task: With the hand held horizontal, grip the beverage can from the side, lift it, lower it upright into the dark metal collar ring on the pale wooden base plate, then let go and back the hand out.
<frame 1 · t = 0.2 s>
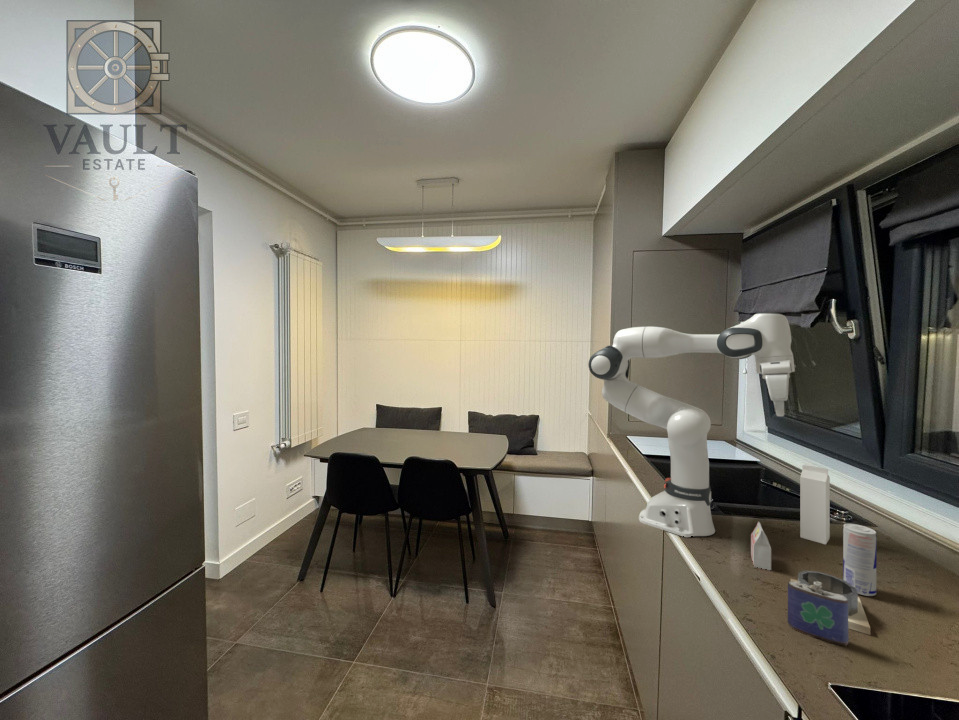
hand: (779, 414, 110), 39 cm above the counter, tool pointing down, fingers open, 8 cm apart
small drink carton: (760, 563, 103), on the counter
flask: (816, 635, 76), on the counter
collar stand: (826, 607, 84), on the counter
milk: (814, 538, 116), on the counter
beverage can: (859, 591, 90), on the counter
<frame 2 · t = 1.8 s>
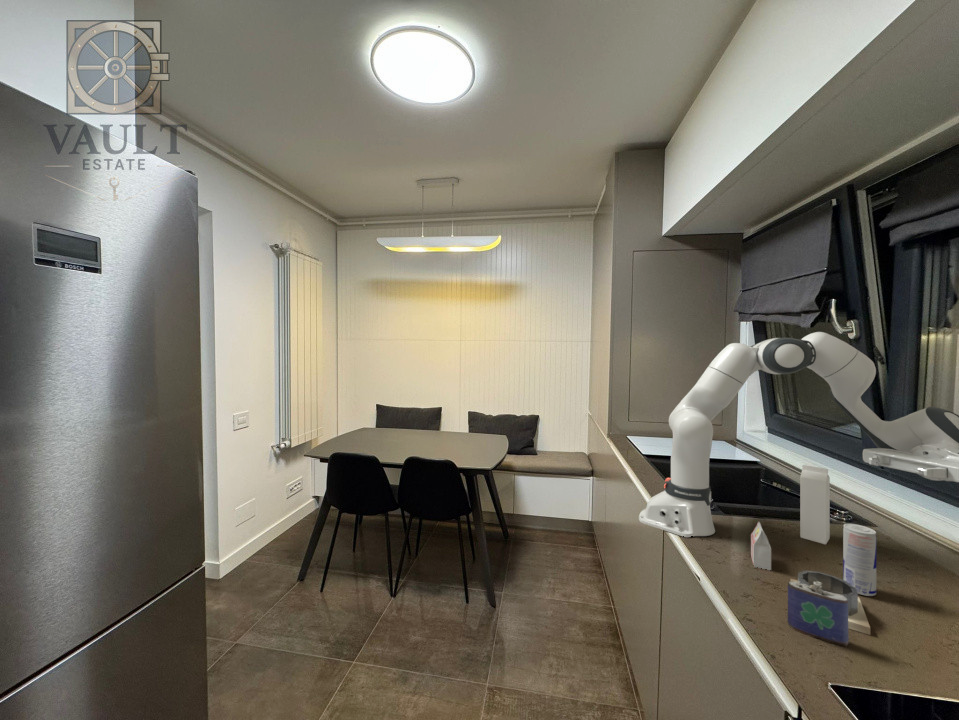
hand: (896, 467, 93), 29 cm above the counter, tool horizontal, fingers open, 8 cm apart
nothing on the counter moved.
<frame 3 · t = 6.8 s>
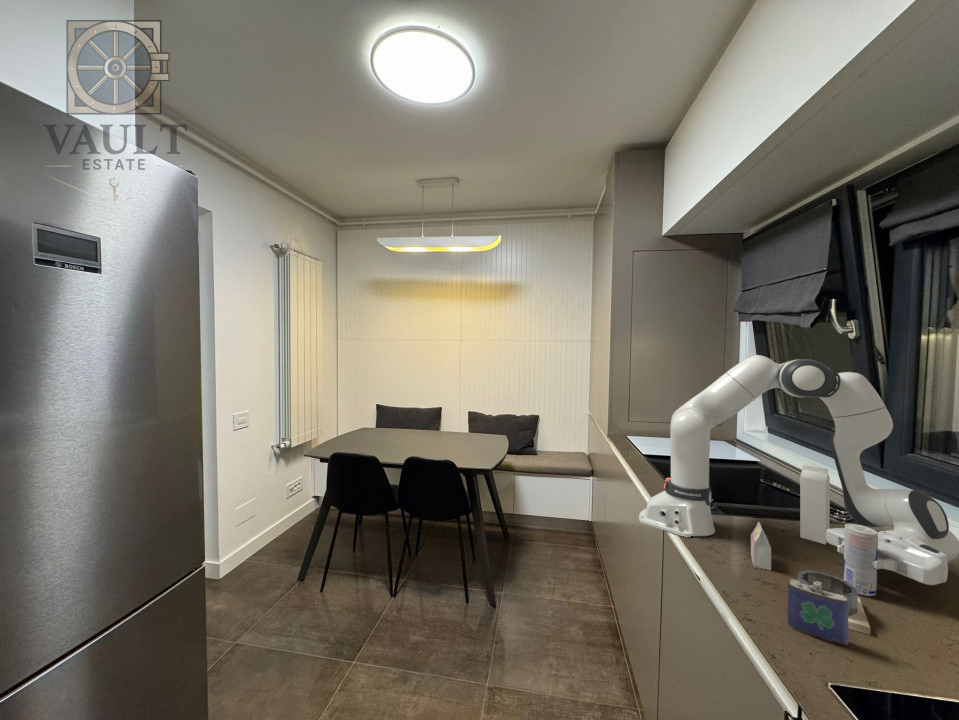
hand: (856, 556, 90), 8 cm above the counter, tool horizontal, fingers closed on beverage can, 5 cm apart
beverage can: (859, 590, 90), on the counter, touching gripper
everything else where it was.
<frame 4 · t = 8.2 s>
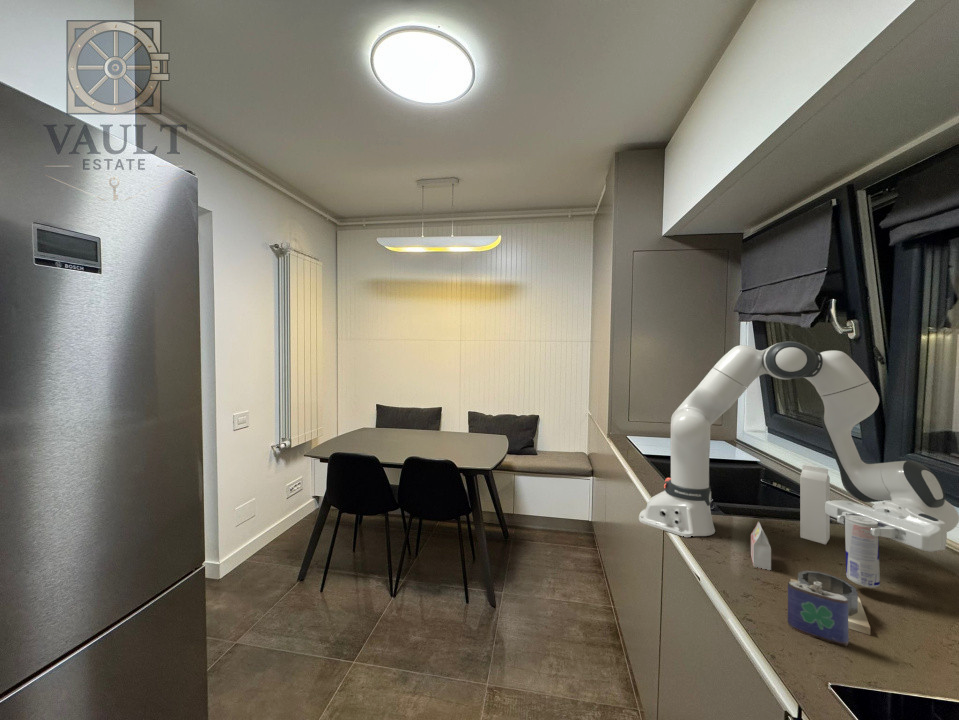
hand: (854, 525, 90), 16 cm above the counter, tool horizontal, fingers closed on beverage can, 5 cm apart
beverage can: (862, 583, 90), point 2 cm above the counter, touching gripper
everything else where it was.
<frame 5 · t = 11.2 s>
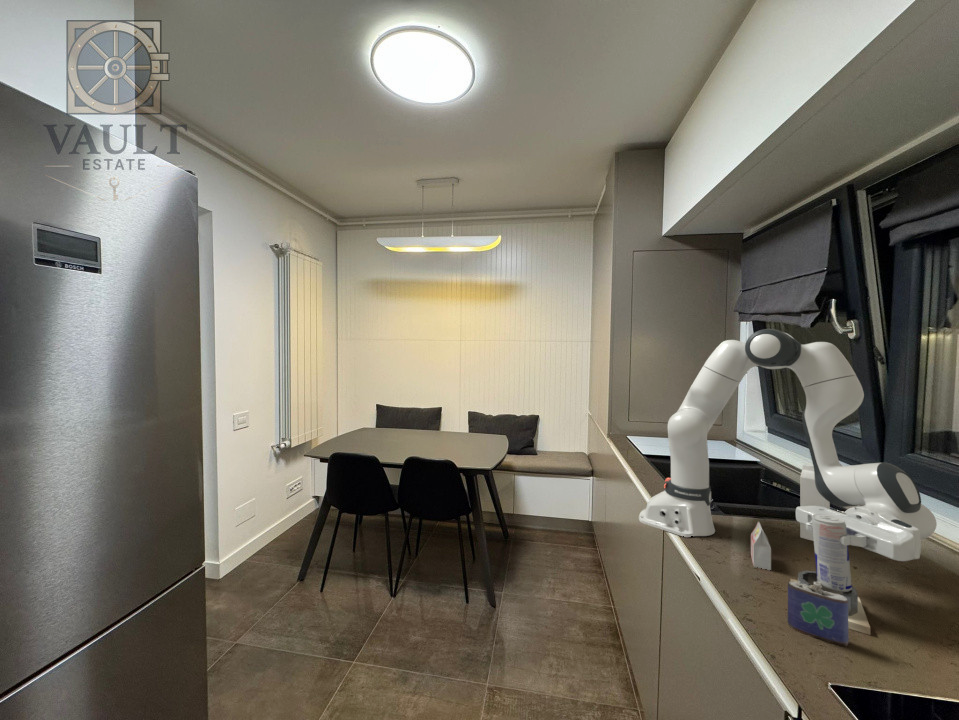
hand: (823, 533, 84), 17 cm above the counter, tool horizontal, fingers closed on beverage can, 5 cm apart
beverage can: (834, 587, 83), point 5 cm above the counter, touching collar stand, gripper
everything else where it was.
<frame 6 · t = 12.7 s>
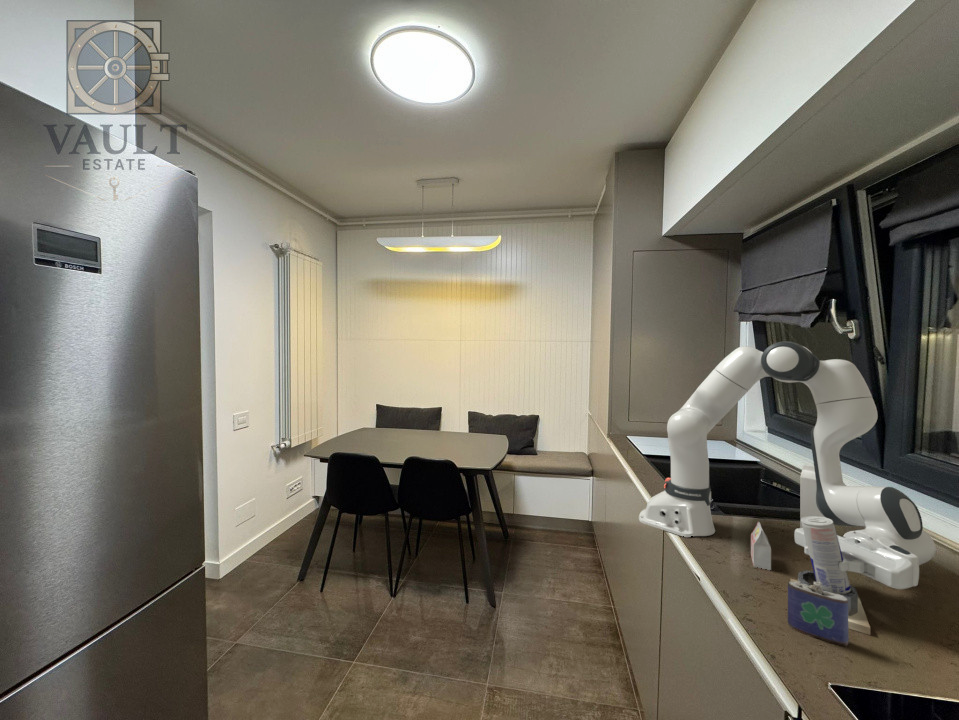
hand: (822, 558, 84), 11 cm above the counter, tool horizontal, fingers closed on beverage can, 5 cm apart
beverage can: (834, 589, 83), point 5 cm above the counter, touching collar stand, gripper
everything else where it was.
when the fingers open (11 cm above the counter, at t = 12.9 s): beverage can drops 2 cm, resting on collar stand.
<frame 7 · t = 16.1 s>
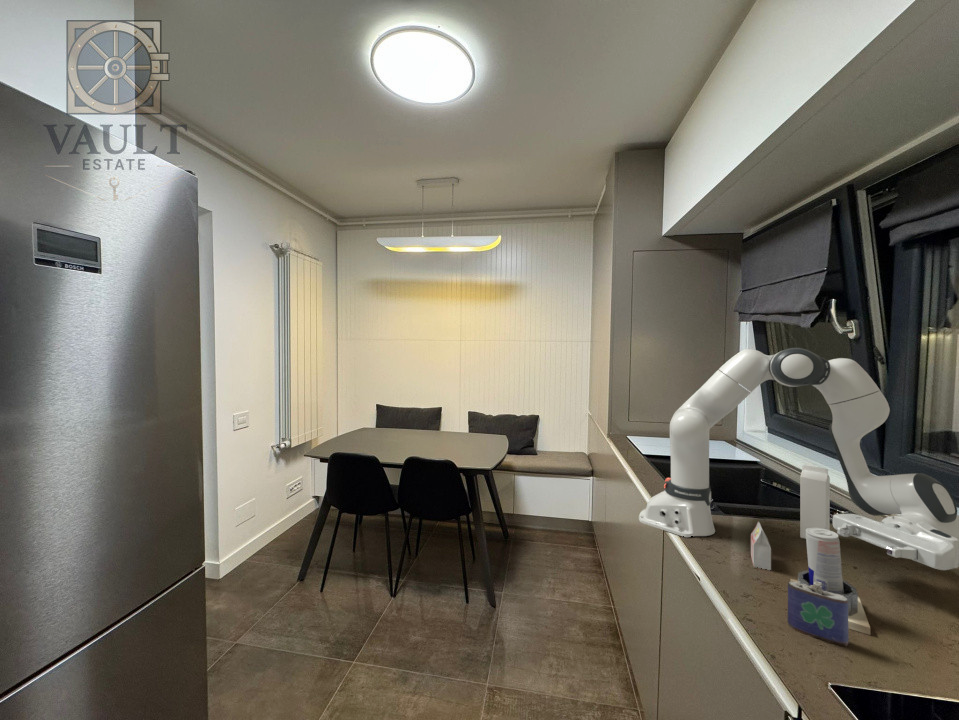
hand: (864, 541, 87), 13 cm above the counter, tool horizontal, fingers open, 8 cm apart
beverage can: (827, 600, 85), point 1 cm above the counter, touching collar stand
everything else where it was.
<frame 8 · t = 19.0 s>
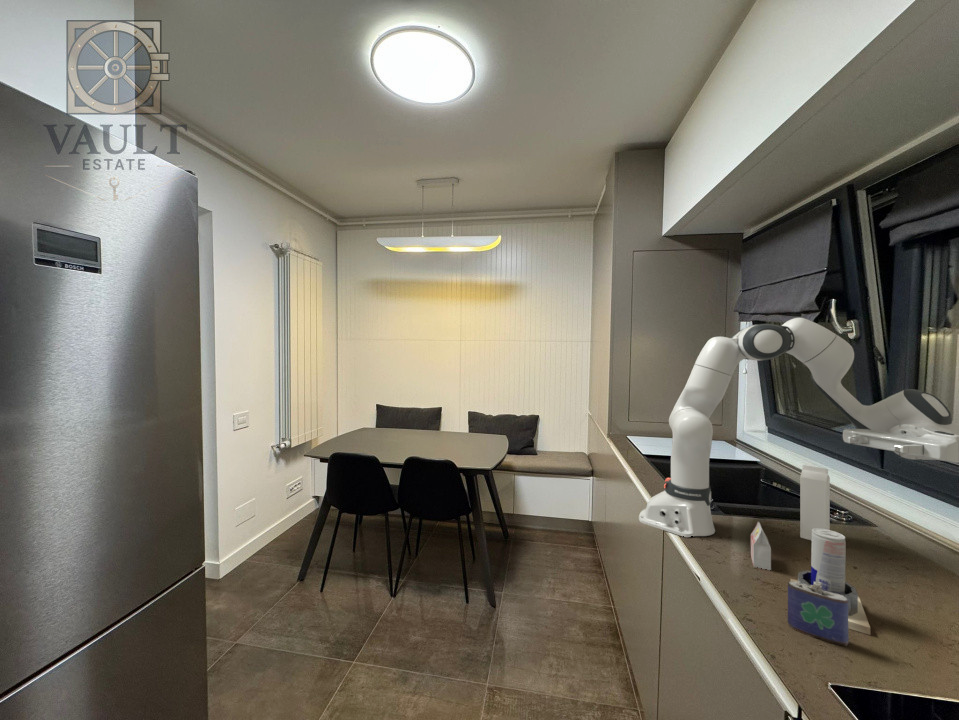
hand: (873, 444, 94), 34 cm above the counter, tool horizontal, fingers open, 8 cm apart
at the end: beverage can 0.4 cm off-centre on the collar stand, point 1.4 cm above the collar stand's base; beverage can tilted 1°; the gripper is holding nothing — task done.
